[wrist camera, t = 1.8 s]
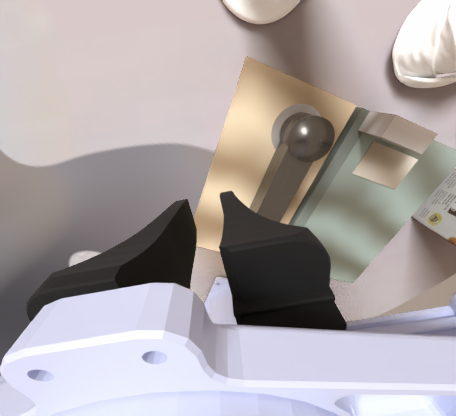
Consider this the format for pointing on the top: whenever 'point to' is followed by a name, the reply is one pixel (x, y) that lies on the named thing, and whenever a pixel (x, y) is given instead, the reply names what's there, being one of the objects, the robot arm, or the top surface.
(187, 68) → the top surface
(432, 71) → the white curved piece
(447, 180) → the coffee box
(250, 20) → the candle
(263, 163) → the door and jamb
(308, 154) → the bar
